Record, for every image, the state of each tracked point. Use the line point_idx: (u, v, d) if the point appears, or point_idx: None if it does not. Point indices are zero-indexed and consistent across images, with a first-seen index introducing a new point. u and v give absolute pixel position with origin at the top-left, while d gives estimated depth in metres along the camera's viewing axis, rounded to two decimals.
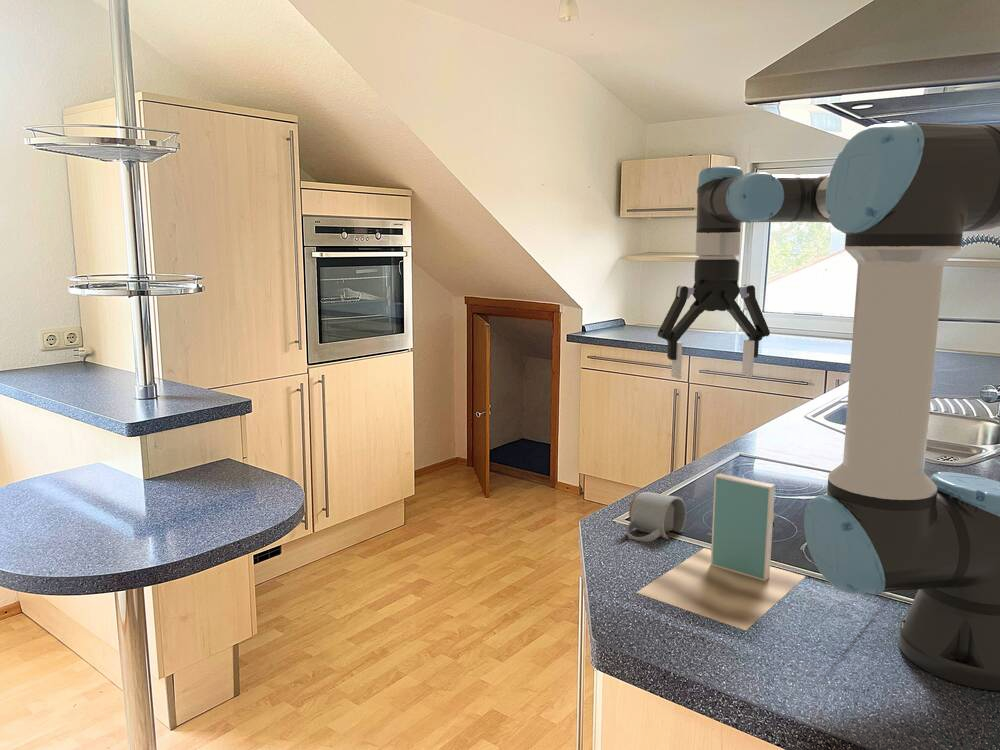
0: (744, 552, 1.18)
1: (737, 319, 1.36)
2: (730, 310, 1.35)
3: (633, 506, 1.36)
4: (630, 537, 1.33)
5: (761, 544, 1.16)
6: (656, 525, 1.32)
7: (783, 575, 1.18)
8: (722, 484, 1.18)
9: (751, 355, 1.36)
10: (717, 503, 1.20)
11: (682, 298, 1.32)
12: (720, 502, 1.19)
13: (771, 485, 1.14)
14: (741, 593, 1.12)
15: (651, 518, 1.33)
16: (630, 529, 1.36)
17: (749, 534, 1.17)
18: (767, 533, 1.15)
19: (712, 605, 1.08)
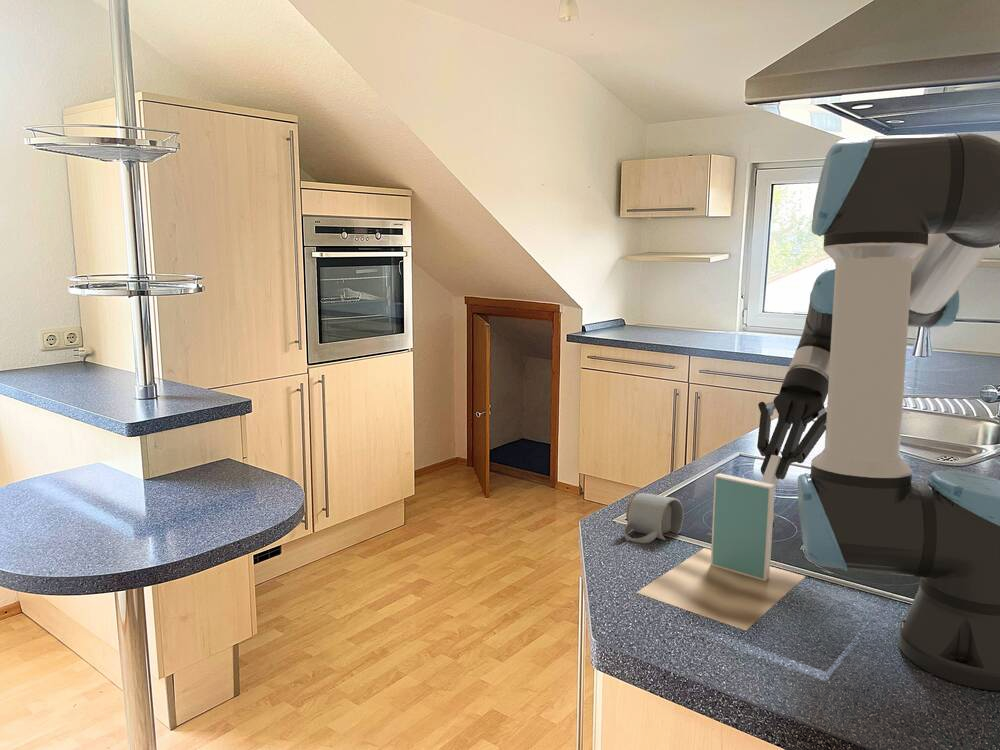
0: (744, 552, 1.18)
1: None
2: None
3: (630, 508, 1.36)
4: (627, 538, 1.33)
5: (761, 544, 1.16)
6: (653, 526, 1.32)
7: (783, 575, 1.18)
8: (722, 484, 1.18)
9: (772, 469, 1.25)
10: (717, 503, 1.20)
11: (762, 411, 1.33)
12: (720, 502, 1.19)
13: (771, 485, 1.14)
14: (741, 593, 1.12)
15: (648, 519, 1.32)
16: (627, 530, 1.35)
17: (749, 534, 1.17)
18: (767, 533, 1.15)
19: (712, 605, 1.08)
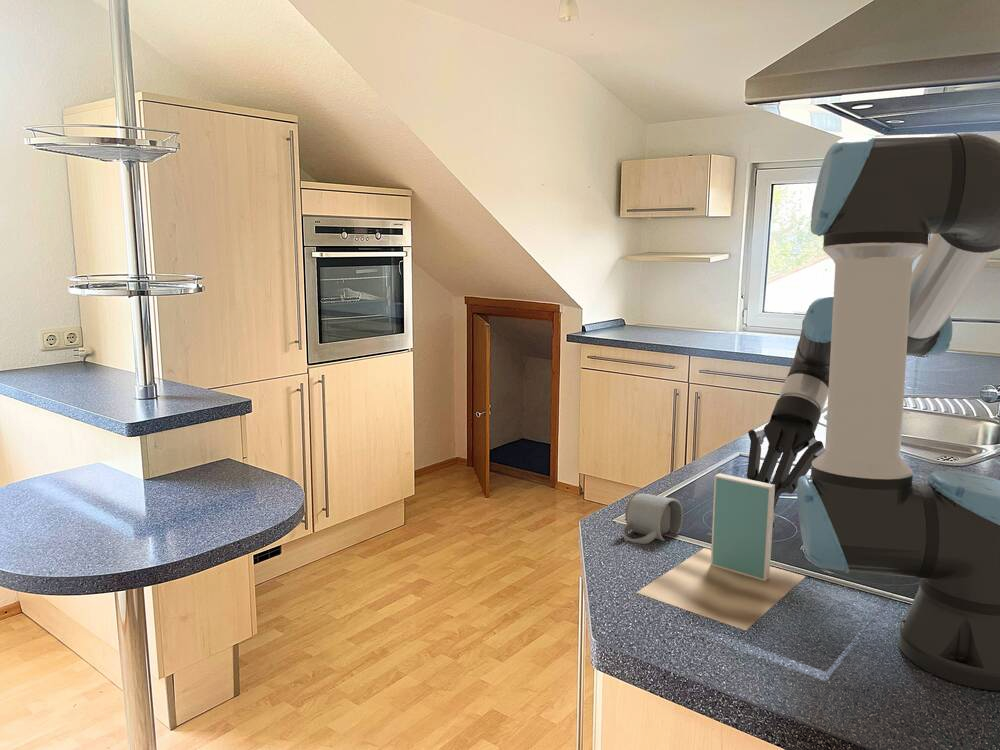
0: (744, 552, 1.18)
1: None
2: None
3: (629, 508, 1.35)
4: (626, 539, 1.32)
5: (761, 544, 1.16)
6: (652, 527, 1.31)
7: (783, 575, 1.18)
8: (722, 484, 1.18)
9: None
10: (717, 503, 1.20)
11: (752, 440, 1.31)
12: (720, 502, 1.19)
13: (771, 485, 1.14)
14: (741, 593, 1.12)
15: (647, 520, 1.32)
16: (626, 531, 1.35)
17: (749, 534, 1.17)
18: (767, 533, 1.15)
19: (712, 605, 1.08)
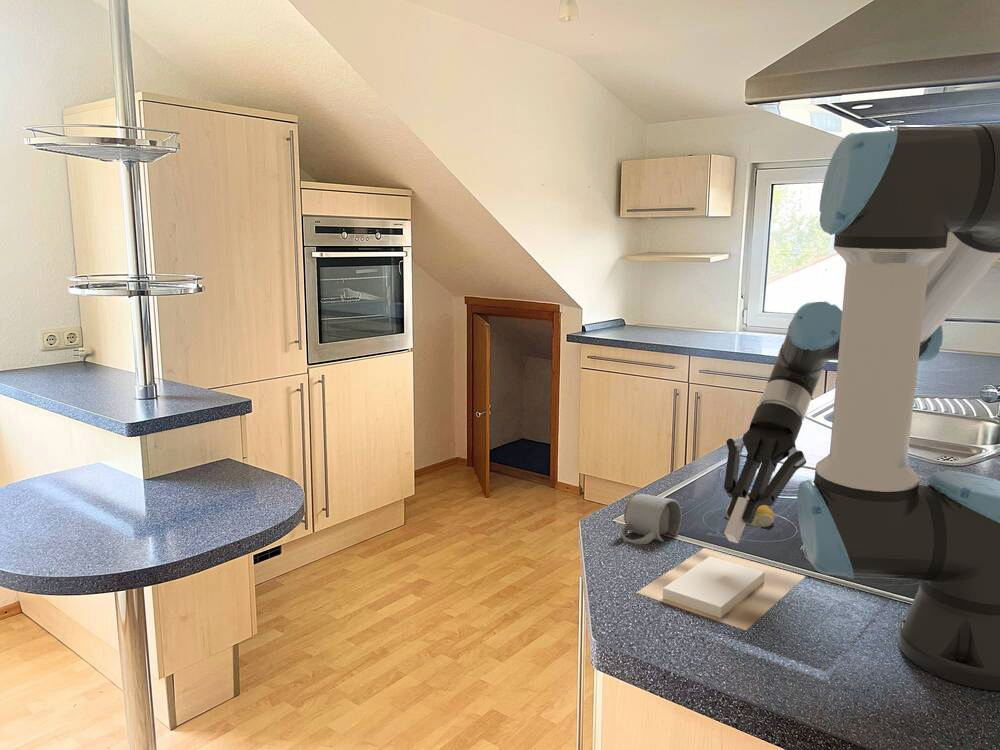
0: None
1: None
2: None
3: (628, 509, 1.35)
4: (625, 540, 1.32)
5: None
6: (651, 528, 1.31)
7: (783, 575, 1.18)
8: None
9: (739, 512, 1.17)
10: None
11: (730, 449, 1.25)
12: None
13: (719, 611, 1.05)
14: None
15: (646, 520, 1.32)
16: (625, 531, 1.35)
17: None
18: (742, 598, 1.10)
19: None
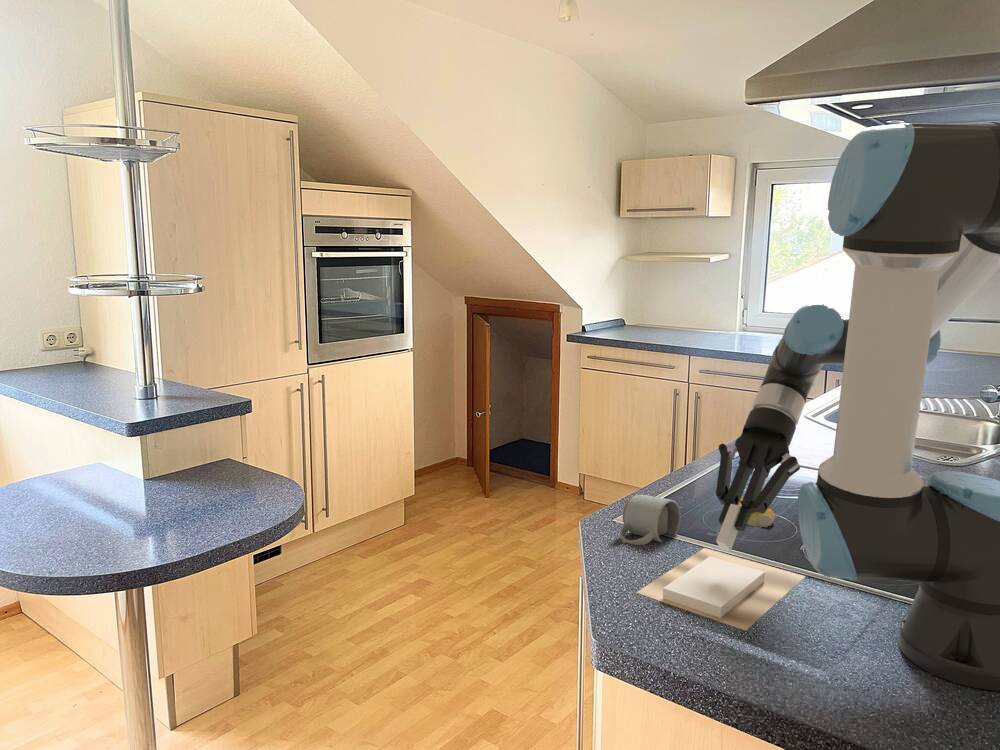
0: None
1: None
2: None
3: (627, 509, 1.35)
4: (623, 540, 1.32)
5: None
6: (649, 528, 1.31)
7: (783, 575, 1.18)
8: None
9: (731, 520, 1.14)
10: None
11: (723, 454, 1.22)
12: None
13: (719, 611, 1.05)
14: None
15: (644, 521, 1.32)
16: (623, 532, 1.34)
17: None
18: (742, 598, 1.10)
19: None
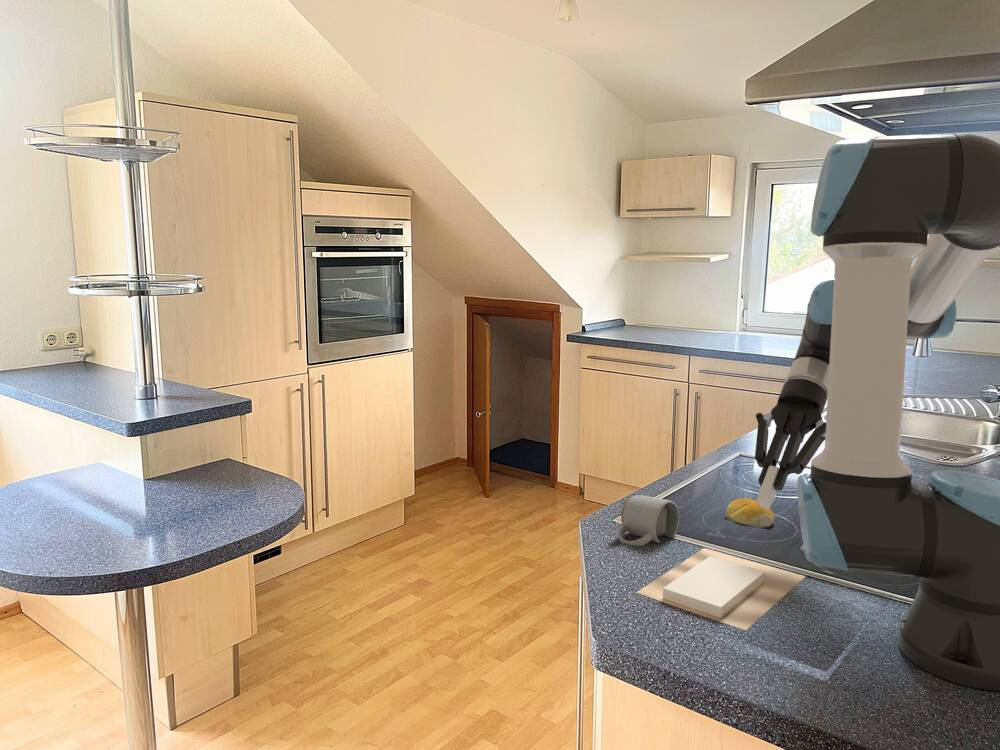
0: None
1: None
2: None
3: (625, 510, 1.35)
4: (622, 541, 1.31)
5: None
6: (648, 529, 1.31)
7: (783, 575, 1.18)
8: None
9: (770, 480, 1.24)
10: None
11: (760, 422, 1.32)
12: None
13: (719, 611, 1.05)
14: None
15: (643, 522, 1.31)
16: (622, 533, 1.34)
17: None
18: (742, 598, 1.10)
19: None
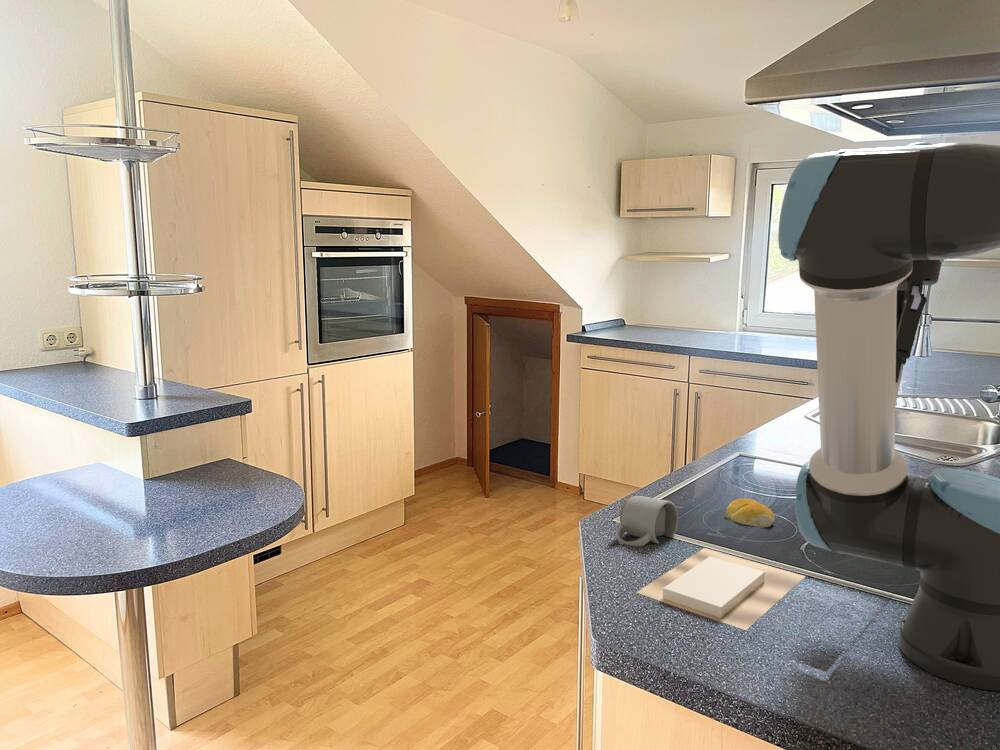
0: None
1: None
2: None
3: (624, 510, 1.34)
4: (620, 542, 1.31)
5: None
6: (647, 530, 1.30)
7: (783, 575, 1.18)
8: None
9: None
10: None
11: None
12: None
13: (719, 611, 1.05)
14: None
15: (642, 522, 1.31)
16: (621, 533, 1.34)
17: None
18: (742, 598, 1.10)
19: None
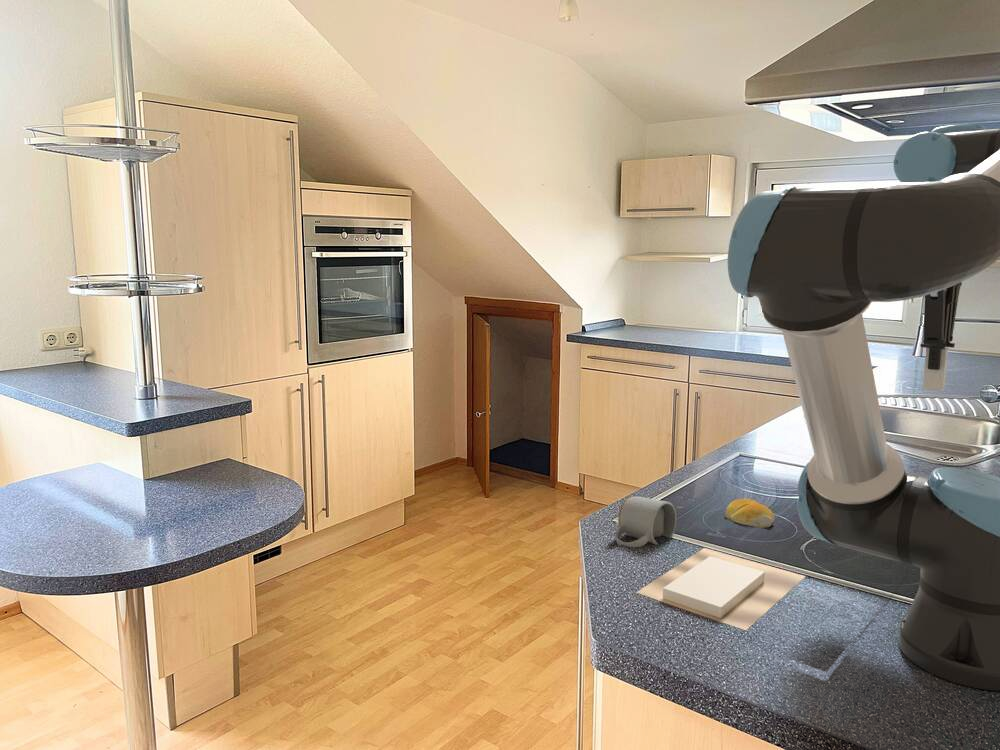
0: None
1: None
2: None
3: (622, 511, 1.34)
4: (618, 542, 1.31)
5: None
6: (645, 530, 1.30)
7: (783, 575, 1.18)
8: None
9: None
10: None
11: None
12: None
13: (719, 611, 1.05)
14: None
15: (640, 523, 1.31)
16: (619, 534, 1.33)
17: None
18: (742, 598, 1.10)
19: None
